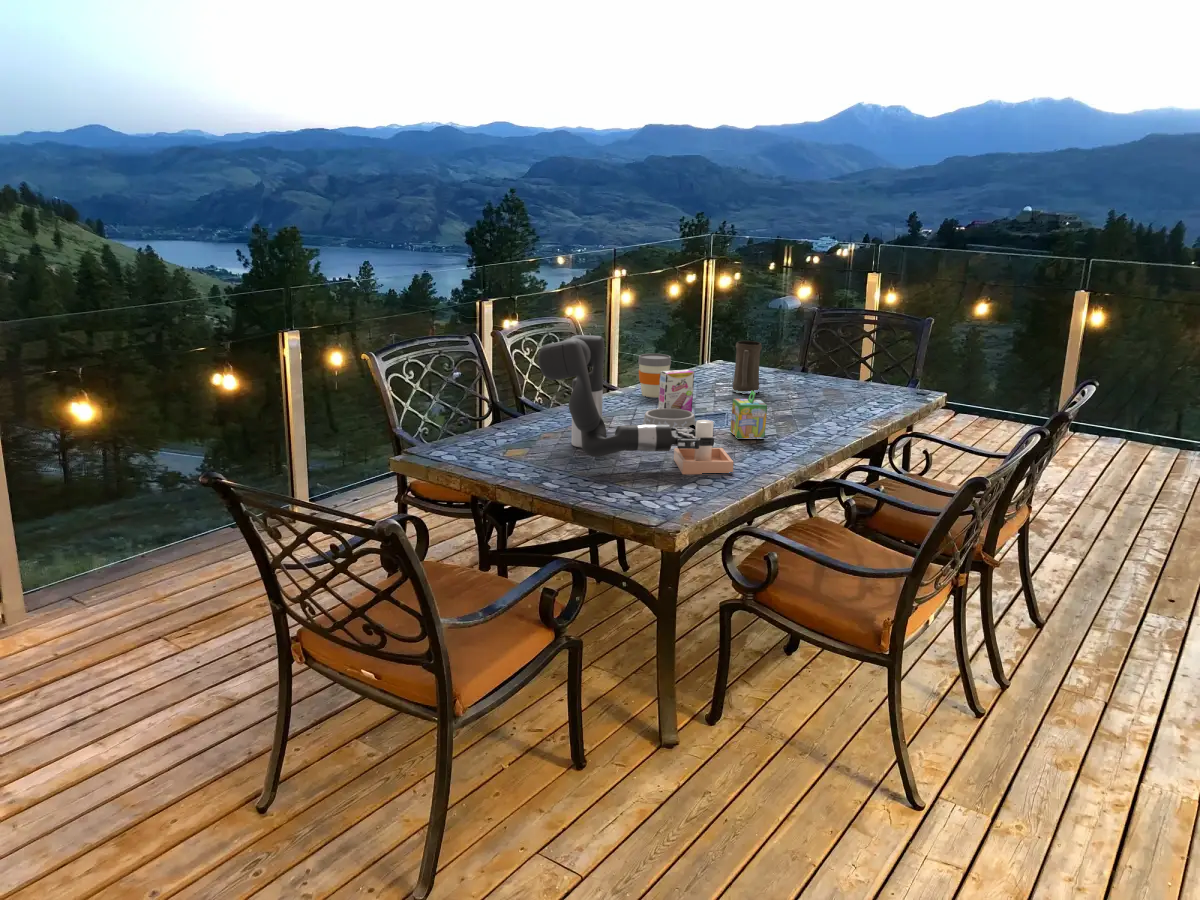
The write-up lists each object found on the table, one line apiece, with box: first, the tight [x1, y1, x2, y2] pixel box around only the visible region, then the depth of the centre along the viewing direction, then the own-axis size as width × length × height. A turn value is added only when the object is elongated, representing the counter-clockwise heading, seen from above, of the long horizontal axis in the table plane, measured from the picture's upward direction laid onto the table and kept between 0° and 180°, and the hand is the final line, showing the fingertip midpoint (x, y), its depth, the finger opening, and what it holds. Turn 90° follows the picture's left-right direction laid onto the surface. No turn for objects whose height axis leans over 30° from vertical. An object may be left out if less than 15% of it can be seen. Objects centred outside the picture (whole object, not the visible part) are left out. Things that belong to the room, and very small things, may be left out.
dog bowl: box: [642, 408, 696, 429], centre depth 289 cm, size 17×18×5 cm
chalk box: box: [729, 390, 768, 438], centre depth 279 cm, size 9×9×15 cm
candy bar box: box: [657, 369, 695, 413], centre depth 301 cm, size 11×5×16 cm, turn 115°
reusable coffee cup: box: [637, 353, 672, 398], centre depth 336 cm, size 13×13×15 cm
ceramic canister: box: [694, 419, 715, 461], centre depth 246 cm, size 5×5×12 cm
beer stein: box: [732, 340, 763, 391], centre depth 342 cm, size 15×11×20 cm
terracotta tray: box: [673, 447, 734, 475], centre depth 248 cm, size 14×14×4 cm
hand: (710, 437), depth 246 cm, fingers open, 8 cm apart
